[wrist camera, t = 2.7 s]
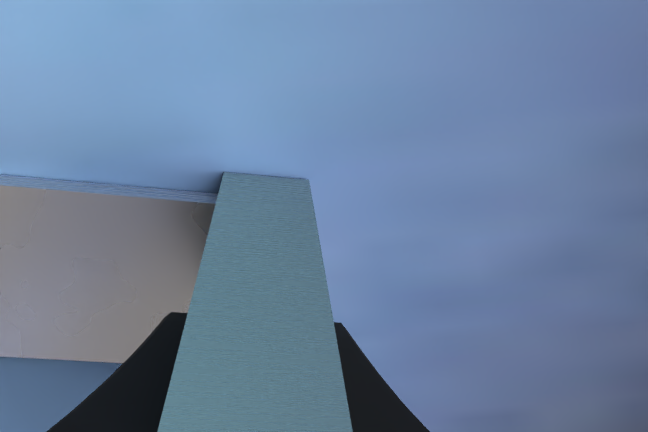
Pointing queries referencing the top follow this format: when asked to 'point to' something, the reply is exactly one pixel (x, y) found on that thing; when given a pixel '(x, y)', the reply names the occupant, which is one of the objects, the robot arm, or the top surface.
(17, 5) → the top surface
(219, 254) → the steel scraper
